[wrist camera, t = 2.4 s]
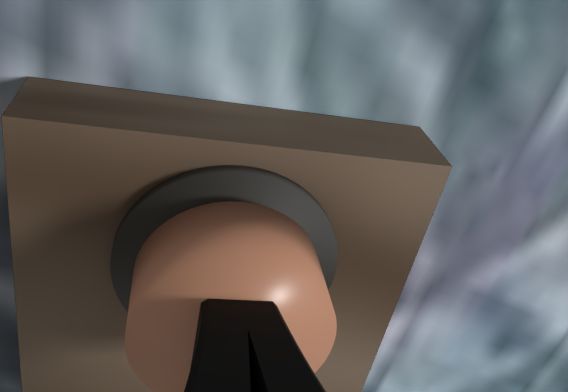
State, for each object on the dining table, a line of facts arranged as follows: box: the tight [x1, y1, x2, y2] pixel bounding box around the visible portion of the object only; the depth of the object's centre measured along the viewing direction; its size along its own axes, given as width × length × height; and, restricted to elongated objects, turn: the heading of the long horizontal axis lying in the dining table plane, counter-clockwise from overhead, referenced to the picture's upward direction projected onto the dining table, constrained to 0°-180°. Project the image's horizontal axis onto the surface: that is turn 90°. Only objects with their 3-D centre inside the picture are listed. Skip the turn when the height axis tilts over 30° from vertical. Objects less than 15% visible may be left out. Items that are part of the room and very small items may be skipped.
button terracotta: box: [125, 201, 337, 392], centre depth 11 cm, size 4×4×2 cm
